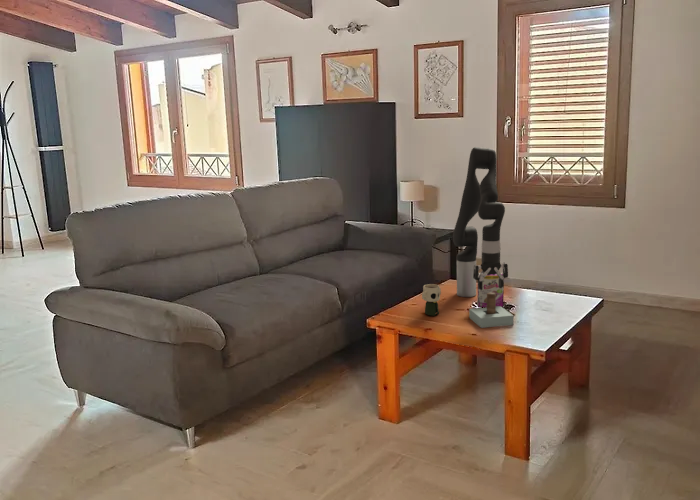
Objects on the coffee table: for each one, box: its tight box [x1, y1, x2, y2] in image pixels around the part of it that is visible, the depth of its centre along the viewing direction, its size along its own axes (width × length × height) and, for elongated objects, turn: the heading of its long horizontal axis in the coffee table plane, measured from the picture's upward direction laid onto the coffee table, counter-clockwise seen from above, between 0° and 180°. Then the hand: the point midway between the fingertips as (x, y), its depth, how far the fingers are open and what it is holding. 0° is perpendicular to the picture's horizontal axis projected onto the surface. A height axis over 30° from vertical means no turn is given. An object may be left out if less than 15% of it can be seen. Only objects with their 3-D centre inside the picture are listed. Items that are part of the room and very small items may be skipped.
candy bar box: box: [476, 272, 505, 308], centre depth 290 cm, size 11×5×16 cm, turn 84°
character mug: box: [421, 283, 442, 316], centre depth 286 cm, size 11×7×13 cm, turn 127°
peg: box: [487, 293, 496, 314], centre depth 274 cm, size 4×4×12 cm
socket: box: [468, 306, 515, 329], centre depth 274 cm, size 14×14×4 cm
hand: (490, 288), depth 272 cm, fingers open, 8 cm apart
